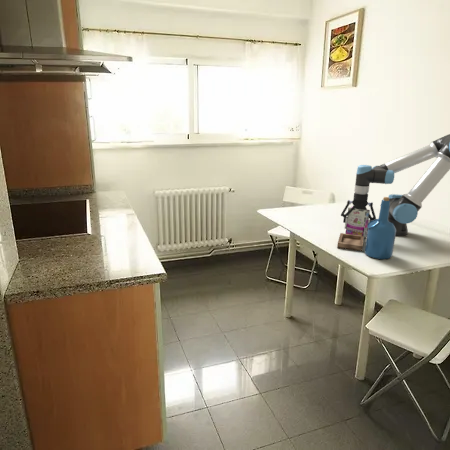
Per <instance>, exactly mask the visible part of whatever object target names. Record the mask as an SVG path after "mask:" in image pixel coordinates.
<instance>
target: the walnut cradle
mask: <svg viewBox="0 0 450 450" xmlns="http://www.w3.org/2000/svg"><path fill="white" fill-rule="evenodd" d="M364 239H365V238H364V236H360V235H352V234H345V233H344V232H340V234H339V237H338V241H337V246H336V248H337V249H341V250H348V251H354V252H355V251H356V252H363V247H364Z"/></svg>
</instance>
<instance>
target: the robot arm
mask: <svg viewBox="0 0 450 450" xmlns="http://www.w3.org/2000/svg"><path fill="white" fill-rule="evenodd" d="M433 158H435V160H434V161H433V162H432V164H431V165H430V166H429V167H428V168H427V170H426V171H425V172H424V173H423V175H422V176H421V177H420V178H419V180H418V181H417V182H415V185H413V187H411V189H410V190H409V192H407V193H405V194H398V193H397V194H395V193H392V194H389V195H388V197H389V200H390V207H389V216H388V221H389V222H391V223H392V224H394V226H395V228H396V236H395V237H402V236H406V235H408V231H409V228H408V224H410V223H413V222H414V221H415V220H416V219H417V218H418V214H419V213H418V212H419V211H420V210H421V209H422V208H423V204H422V203H423V202H424V200H425V199H426V198H427V197H428V196H429V194H430V193H431V192H432V191H433V190H434V188H436V186H437V185H438V184H439V183H440V182H441V180H442V179H443V178H444V177H445V175H447V173H448V172H449V171H450V133H449V134H446V135H444V136H442V137H440V138H437V139H435V140H433V141H431V142H430V143H429V144H428V145H425V146H423V147H421V148H418V149H416V150H413V151H411V152H408V153H407V154H404V155H402V156H399V157H396V158H394V159H392V160H389V161H387V162H384V163H383V164H380V165H375V166H372V165H369V164H360V165H357V168H356V173H355V174H356V175H355V176H356V177H355V185H354V190H353V191H354V193H353V200H350V199H348V200H347V202H346V205H345V207H343V208H344V209H343V210H342V212H341V214H340V216H341V217H343V223H344V230H346V225H347V216H348V215H349V214H350V213H351V212H352V211H353V210H354V209H355V208H356V209H364V210H368V208H367V206H368V207H370V213H371V214H372V215H371V214H369V216H368V217H369V222H371V221H373V220H375V219H377V217H376V213H375V210H374V206H373V205H374V204H373V203H374V202H373V201H371V202H369V201H368V198H369V191H370V184H381V185H383V184H385V185H392V184H393V183H394V180H395V174H397V173H399V172H401V171H404V170H406V169H409V168H411V167H414V166H416V165H418V164H422V163H423V162H426V161H429V160H431V159H433ZM351 204H352V206H351V207H352V208H351V209H350V210H349V211H348V208H349V206H350V205H351ZM346 211H347V212H346ZM369 222H368V224H369ZM367 230H368V229H367Z"/></svg>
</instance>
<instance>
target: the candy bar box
mask: <svg viewBox="0 0 450 450" xmlns="http://www.w3.org/2000/svg"><path fill="white" fill-rule="evenodd" d="M352 207H353V206H350V207H349V206H348V208H347V212H348V211H349V210H350V209H351V208H352ZM370 213H371V209H367V210H364V209H356V208H355V209H354V210H353V211H352V212H351V213H350V214H349V215H348V216H347V225H346V229H345V233H344V234H352V235H360V236H364V239H366V237H367V229H368V227H367V225H368V222H369V217H368V216H369V214H370ZM370 215H371V214H370Z"/></svg>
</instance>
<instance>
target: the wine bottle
mask: <svg viewBox="0 0 450 450" xmlns="http://www.w3.org/2000/svg"><path fill="white" fill-rule="evenodd" d="M389 207H390V200H389V196H383V198H382V200H381V202H380V210H379V214H378V218H376V219H375V220H373V221H371V222H369V224H368V225H367V227H368V230H367V237H366V238H365V246H364V255H366V256H368V257H370V258H372V259H375V260H377V259H378V260H389V259H391V258H392V257H393V254H394V248H395V241H396V240H395V239H396V237H397V236H396V228H395V226H394V224H392V223H391V222H389V221H388V216H389Z"/></svg>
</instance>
